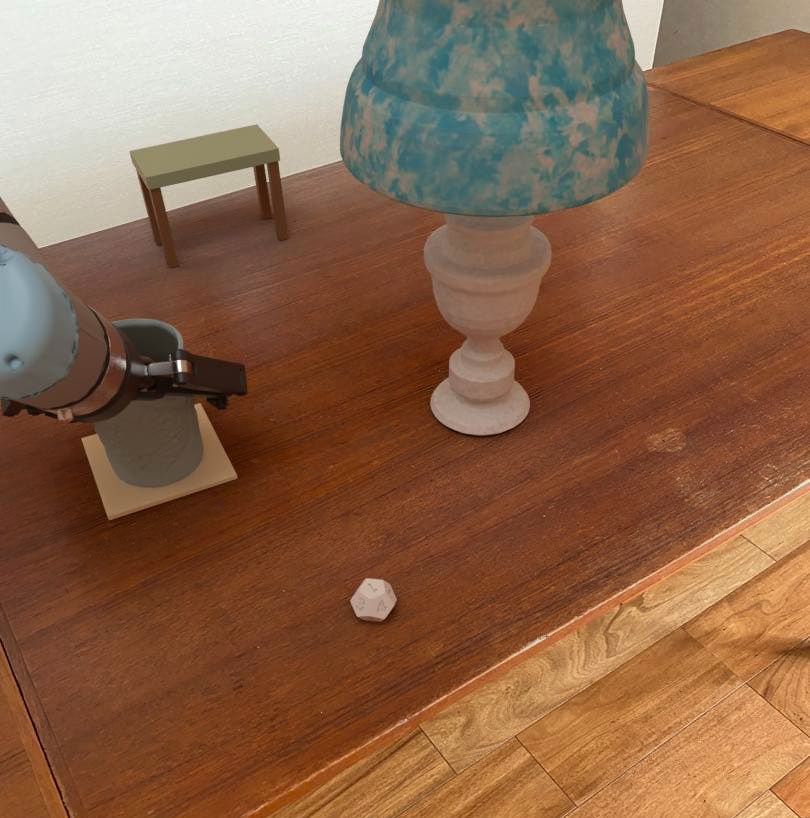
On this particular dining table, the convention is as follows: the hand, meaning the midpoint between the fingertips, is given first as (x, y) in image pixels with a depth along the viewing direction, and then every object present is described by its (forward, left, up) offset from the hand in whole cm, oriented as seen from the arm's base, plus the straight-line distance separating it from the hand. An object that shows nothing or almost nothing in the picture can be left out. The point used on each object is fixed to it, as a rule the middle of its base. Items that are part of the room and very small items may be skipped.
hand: (147, 401), depth 80 cm
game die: (+28, +10, -5) cm, 31 cm away
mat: (+2, -1, -5) cm, 6 cm away
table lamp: (+9, +30, -5) cm, 32 cm away
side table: (-36, +17, -5) cm, 40 cm away
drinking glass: (+2, -1, -5) cm, 5 cm away
